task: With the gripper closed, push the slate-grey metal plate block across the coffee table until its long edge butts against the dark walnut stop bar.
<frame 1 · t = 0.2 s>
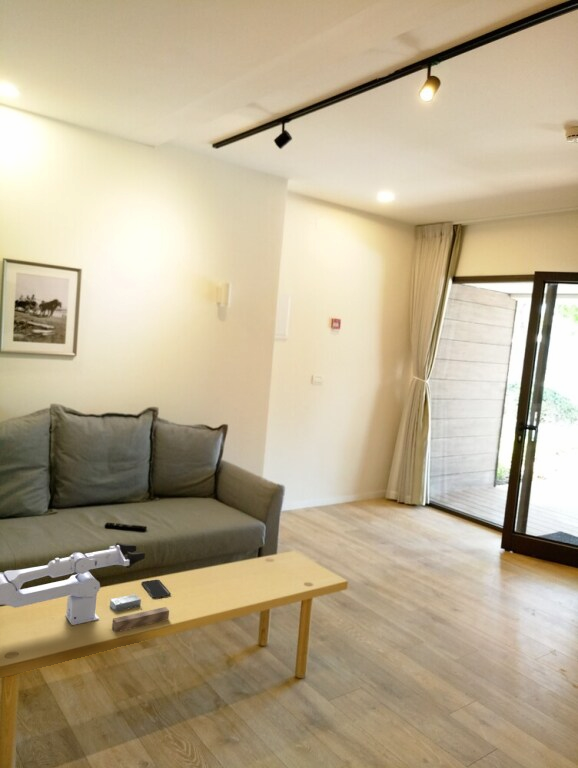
hand: (140, 551, 210), 21 cm above the table, tool horizontal, fingers open, 7 cm apart
plate block: (125, 606, 211), on the table
phone: (155, 591, 227), on the table
walnut stop bar: (140, 623, 199), on the table
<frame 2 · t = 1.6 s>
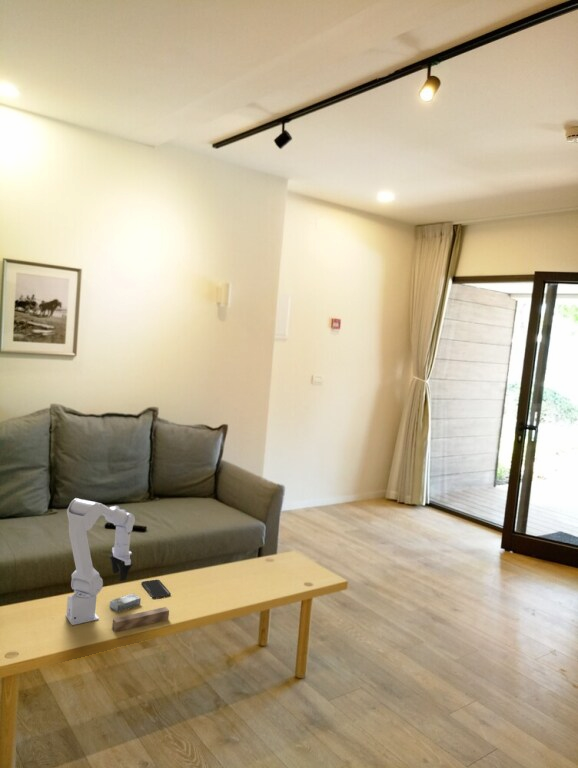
hand: (119, 576, 217), 8 cm above the table, tool pointing down, fingers open, 7 cm apart
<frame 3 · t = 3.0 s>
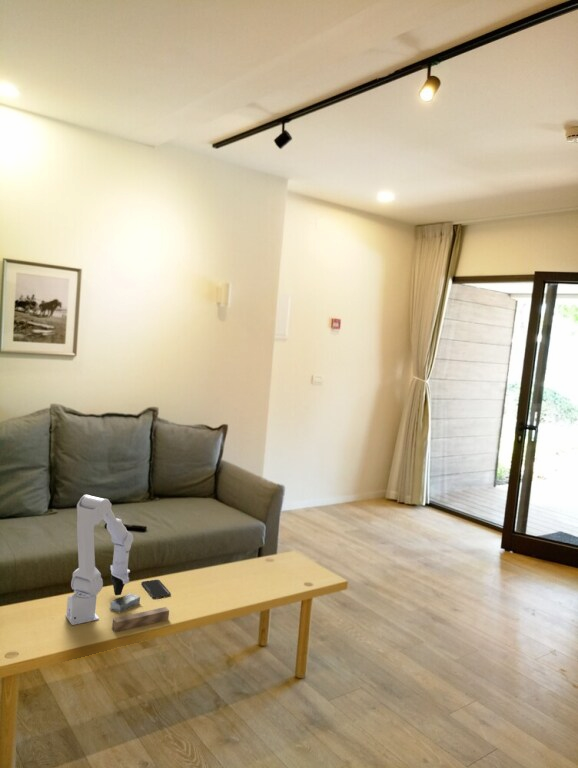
hand: (117, 594, 217), 1 cm above the table, tool pointing down, fingers closed
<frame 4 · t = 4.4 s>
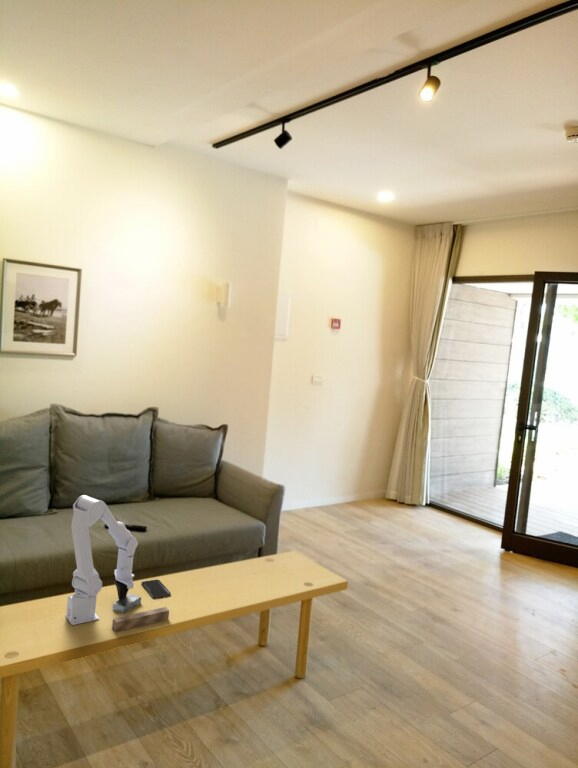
hand: (121, 599, 214), 1 cm above the table, tool pointing down, fingers closed
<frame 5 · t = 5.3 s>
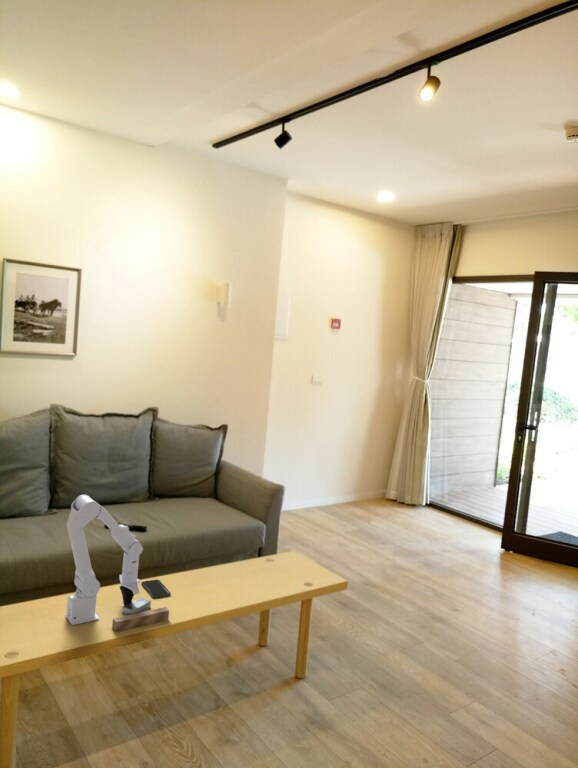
hand: (127, 605, 210), 1 cm above the table, tool pointing down, fingers closed
plate block: (136, 611, 209), on the table
everything else where it was.
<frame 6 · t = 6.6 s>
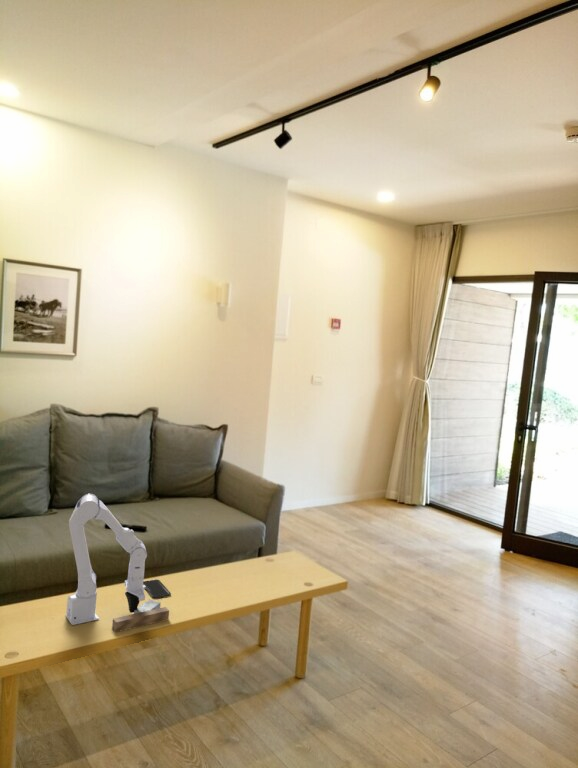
hand: (132, 611, 205), 1 cm above the table, tool pointing down, fingers closed
plate block: (147, 613, 207), on the table, touching gripper, walnut stop bar
everything else where it was.
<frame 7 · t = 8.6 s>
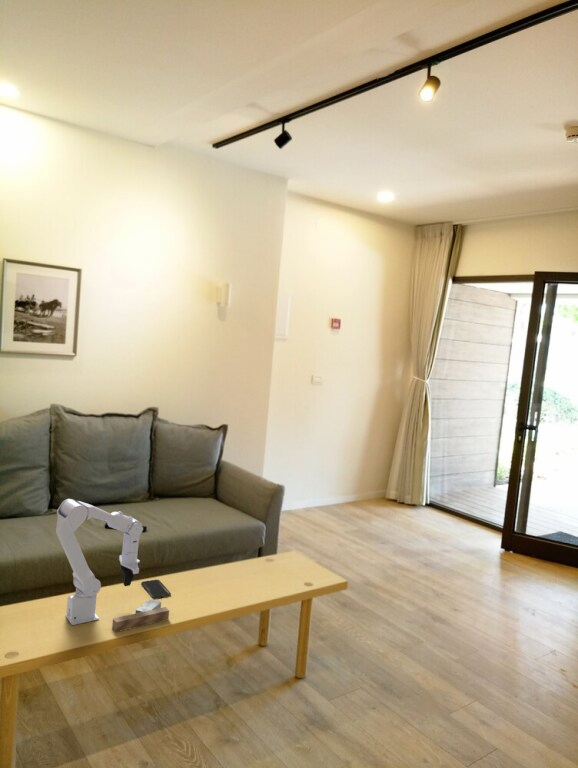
hand: (126, 585, 210), 8 cm above the table, tool pointing down, fingers closed
plate block: (148, 613, 208), on the table
everything else where it was.
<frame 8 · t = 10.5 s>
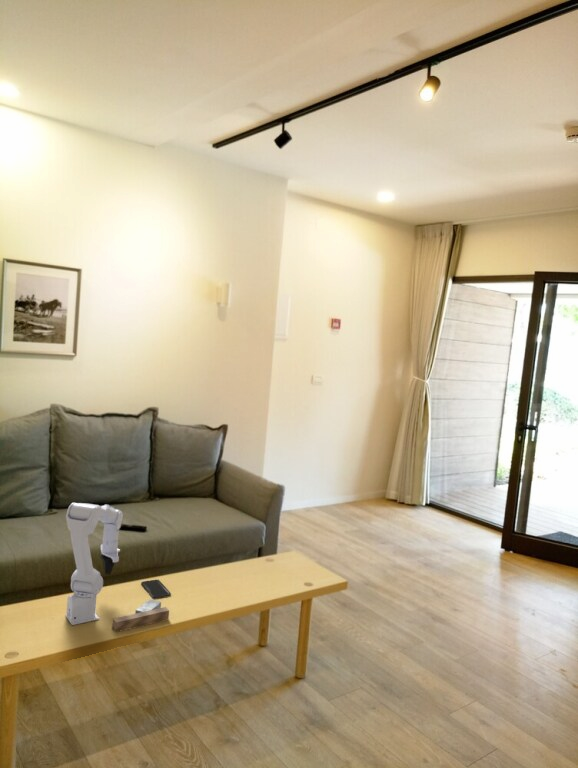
hand: (107, 573, 216), 9 cm above the table, tool pointing down, fingers closed
nothing on the table moved.
at the end: plate block inside the target area (6.0 cm from its centre), on the table; plate block moved 10.2 cm from its start; plate block tilted 0° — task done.
